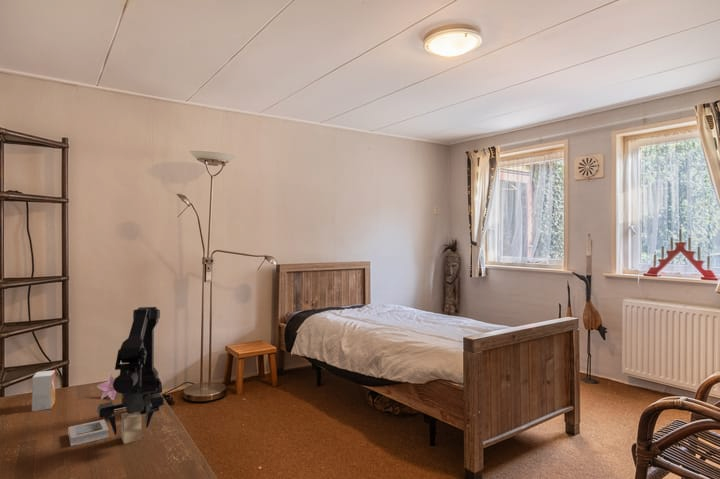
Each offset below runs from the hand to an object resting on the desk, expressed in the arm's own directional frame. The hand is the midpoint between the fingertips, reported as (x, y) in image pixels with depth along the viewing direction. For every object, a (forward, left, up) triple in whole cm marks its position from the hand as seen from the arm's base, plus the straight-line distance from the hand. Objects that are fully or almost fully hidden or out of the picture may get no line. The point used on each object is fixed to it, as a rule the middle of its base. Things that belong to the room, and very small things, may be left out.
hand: (131, 431), depth 144 cm
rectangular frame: (+11, -11, -2) cm, 16 cm away
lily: (-1, -49, -3) cm, 49 cm away
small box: (+22, -52, -3) cm, 57 cm away
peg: (0, 0, -3) cm, 3 cm away
